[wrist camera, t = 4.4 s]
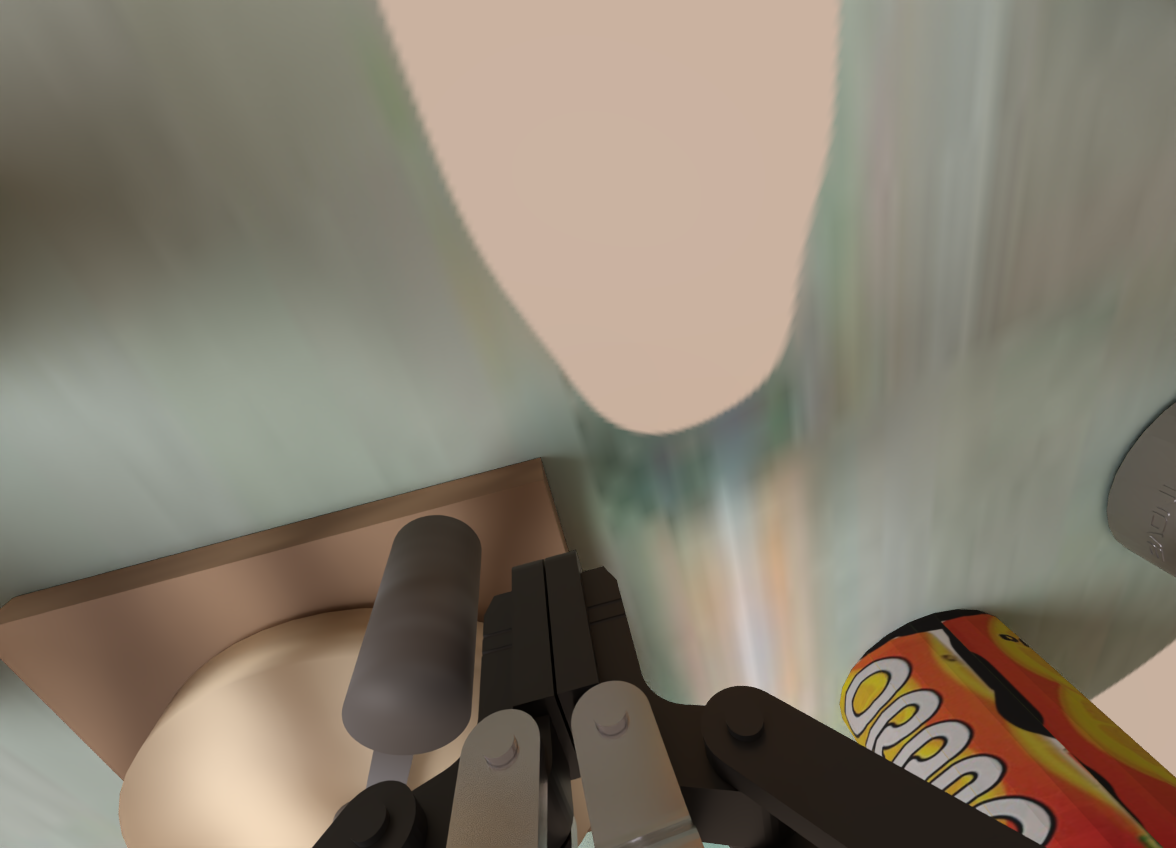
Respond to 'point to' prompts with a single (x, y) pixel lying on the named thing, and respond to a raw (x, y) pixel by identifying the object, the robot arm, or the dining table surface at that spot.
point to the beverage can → (1006, 735)
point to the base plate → (244, 599)
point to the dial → (322, 710)
